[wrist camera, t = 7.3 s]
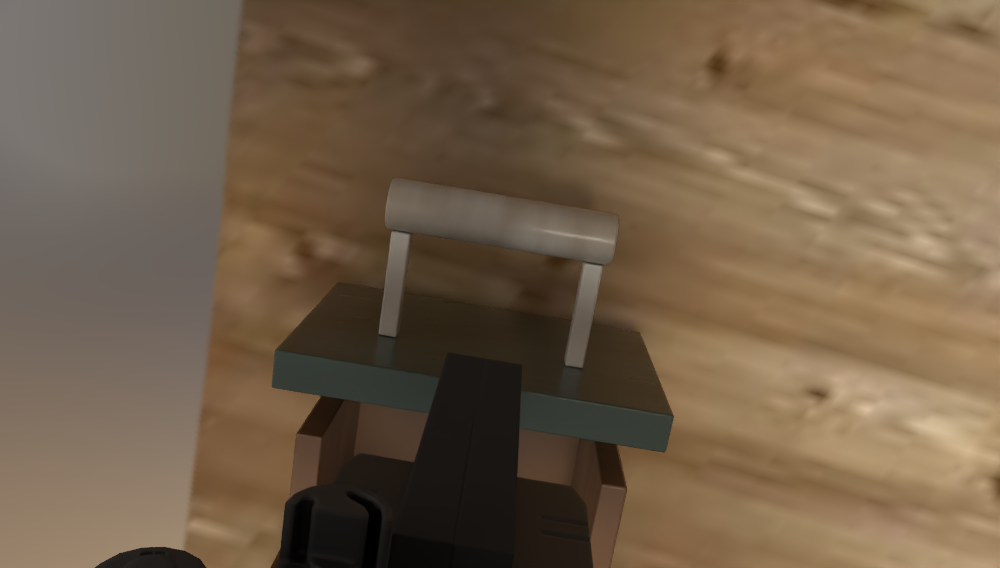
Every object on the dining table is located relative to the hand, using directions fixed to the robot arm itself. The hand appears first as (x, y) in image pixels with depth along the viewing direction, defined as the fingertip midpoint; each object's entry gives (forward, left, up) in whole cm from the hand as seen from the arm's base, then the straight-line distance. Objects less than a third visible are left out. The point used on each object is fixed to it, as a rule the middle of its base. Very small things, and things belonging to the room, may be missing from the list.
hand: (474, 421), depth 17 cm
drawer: (+5, -3, -15) cm, 16 cm away
